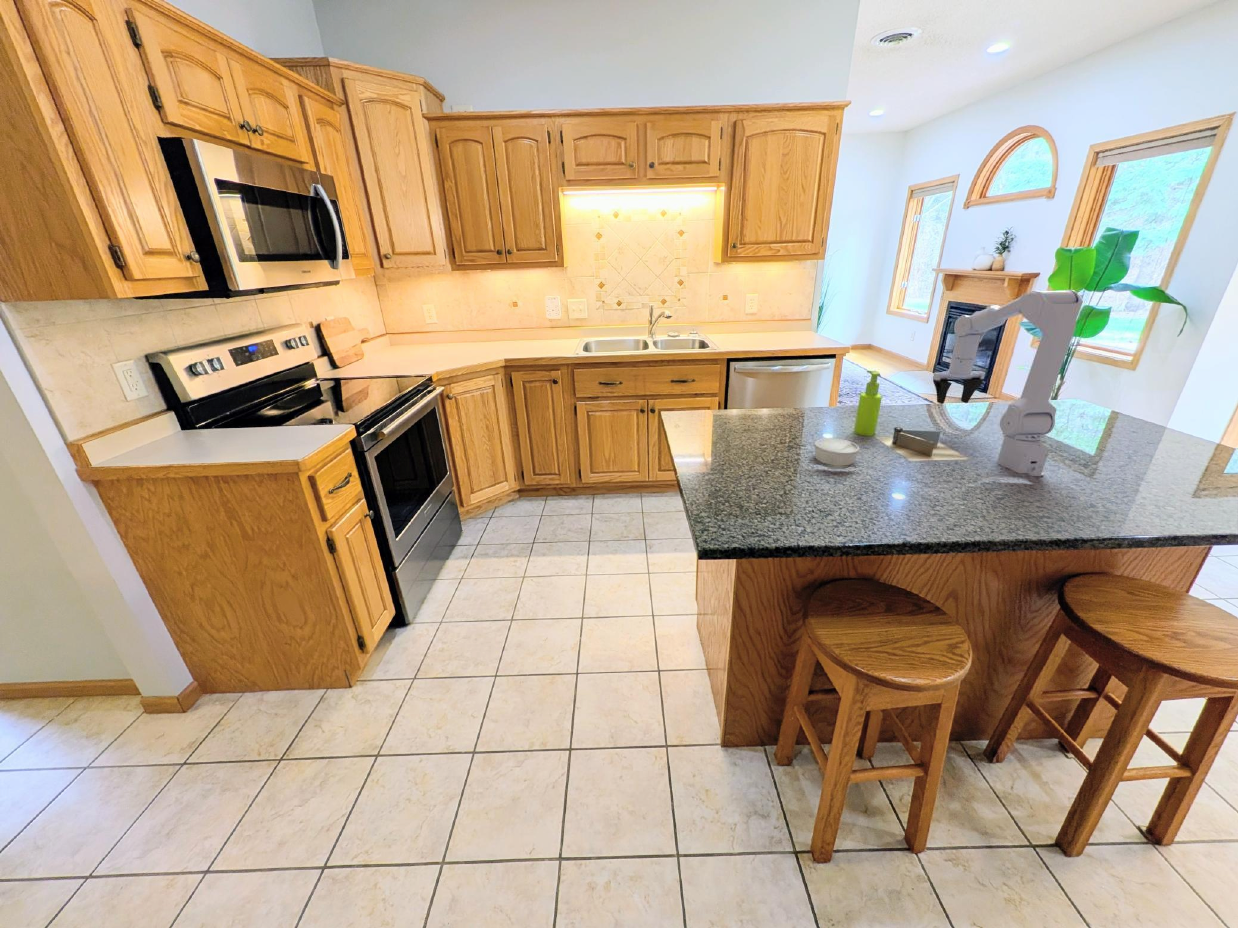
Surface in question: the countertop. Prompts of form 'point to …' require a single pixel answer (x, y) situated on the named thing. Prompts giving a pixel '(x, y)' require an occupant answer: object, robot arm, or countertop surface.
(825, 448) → the ramekin
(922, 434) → the slate bar
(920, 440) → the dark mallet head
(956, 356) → the robot arm
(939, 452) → the maple board
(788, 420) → the countertop surface
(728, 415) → the countertop surface
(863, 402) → the soap dispenser
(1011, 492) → the countertop surface
